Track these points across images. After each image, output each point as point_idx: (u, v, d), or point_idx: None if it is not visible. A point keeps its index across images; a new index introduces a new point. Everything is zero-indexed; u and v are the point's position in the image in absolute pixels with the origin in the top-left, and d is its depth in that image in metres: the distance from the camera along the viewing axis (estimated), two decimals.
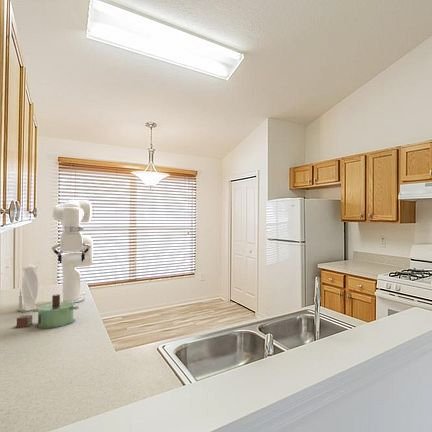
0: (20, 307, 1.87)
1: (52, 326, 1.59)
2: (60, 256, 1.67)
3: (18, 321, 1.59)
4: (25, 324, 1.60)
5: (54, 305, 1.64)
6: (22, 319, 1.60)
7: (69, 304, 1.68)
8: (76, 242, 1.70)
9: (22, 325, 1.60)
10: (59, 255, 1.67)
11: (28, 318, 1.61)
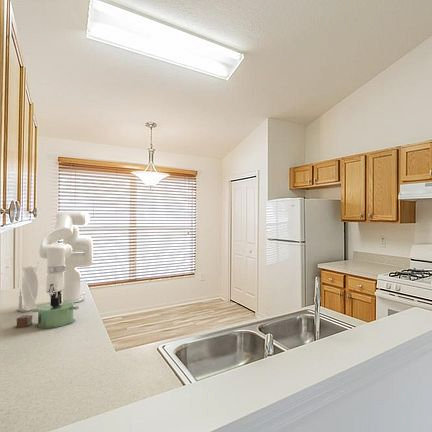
0: (20, 307, 1.87)
1: (52, 326, 1.59)
2: None
3: (18, 321, 1.59)
4: (25, 324, 1.60)
5: None
6: (22, 319, 1.60)
7: (69, 304, 1.68)
8: (62, 280, 1.68)
9: (22, 325, 1.60)
10: (55, 298, 1.63)
11: (28, 318, 1.61)
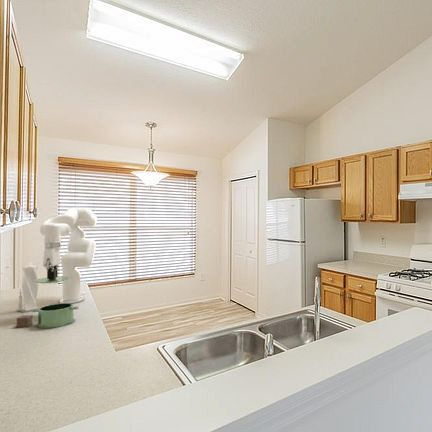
0: (20, 307, 1.87)
1: (52, 326, 1.59)
2: None
3: (18, 321, 1.59)
4: (25, 324, 1.60)
5: None
6: (22, 319, 1.60)
7: (64, 278, 1.82)
8: (58, 256, 1.82)
9: (22, 325, 1.60)
10: (52, 271, 1.78)
11: (28, 318, 1.61)
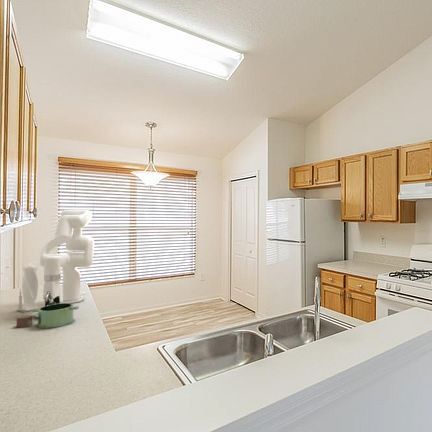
0: (20, 307, 1.87)
1: (52, 326, 1.59)
2: None
3: (18, 321, 1.59)
4: (25, 324, 1.60)
5: None
6: (22, 319, 1.60)
7: None
8: (58, 288, 1.82)
9: (22, 325, 1.60)
10: (50, 303, 1.75)
11: (28, 318, 1.61)
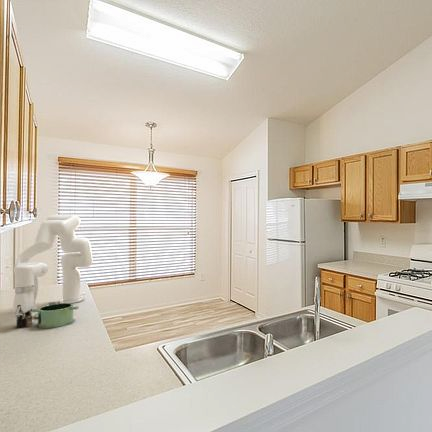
0: None
1: (52, 326, 1.59)
2: (25, 319, 1.60)
3: None
4: None
5: None
6: None
7: None
8: (31, 300, 1.64)
9: None
10: (23, 319, 1.59)
11: (28, 318, 1.61)
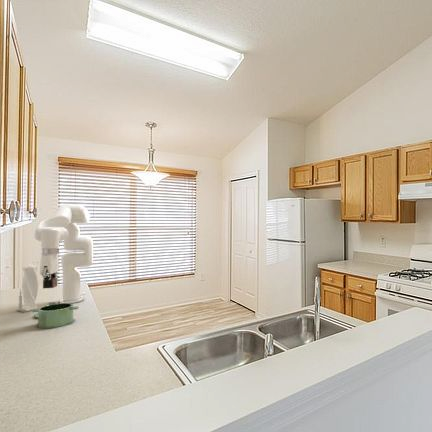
0: (20, 307, 1.87)
1: (52, 326, 1.59)
2: (51, 281, 1.63)
3: None
4: None
5: None
6: None
7: None
8: (56, 263, 1.67)
9: None
10: (49, 280, 1.62)
11: (54, 280, 1.64)
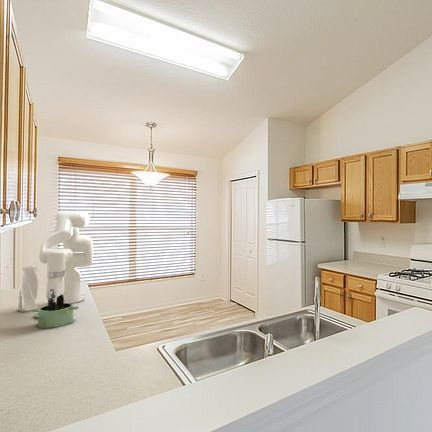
0: (20, 307, 1.87)
1: (52, 326, 1.59)
2: (55, 303, 1.61)
3: None
4: None
5: None
6: None
7: None
8: (62, 285, 1.68)
9: None
10: (53, 302, 1.61)
11: None
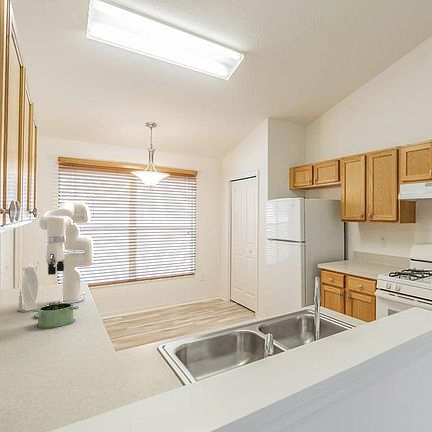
0: (20, 307, 1.87)
1: (52, 326, 1.59)
2: (55, 267, 1.61)
3: None
4: None
5: None
6: None
7: None
8: (62, 251, 1.68)
9: None
10: (53, 266, 1.61)
11: None
